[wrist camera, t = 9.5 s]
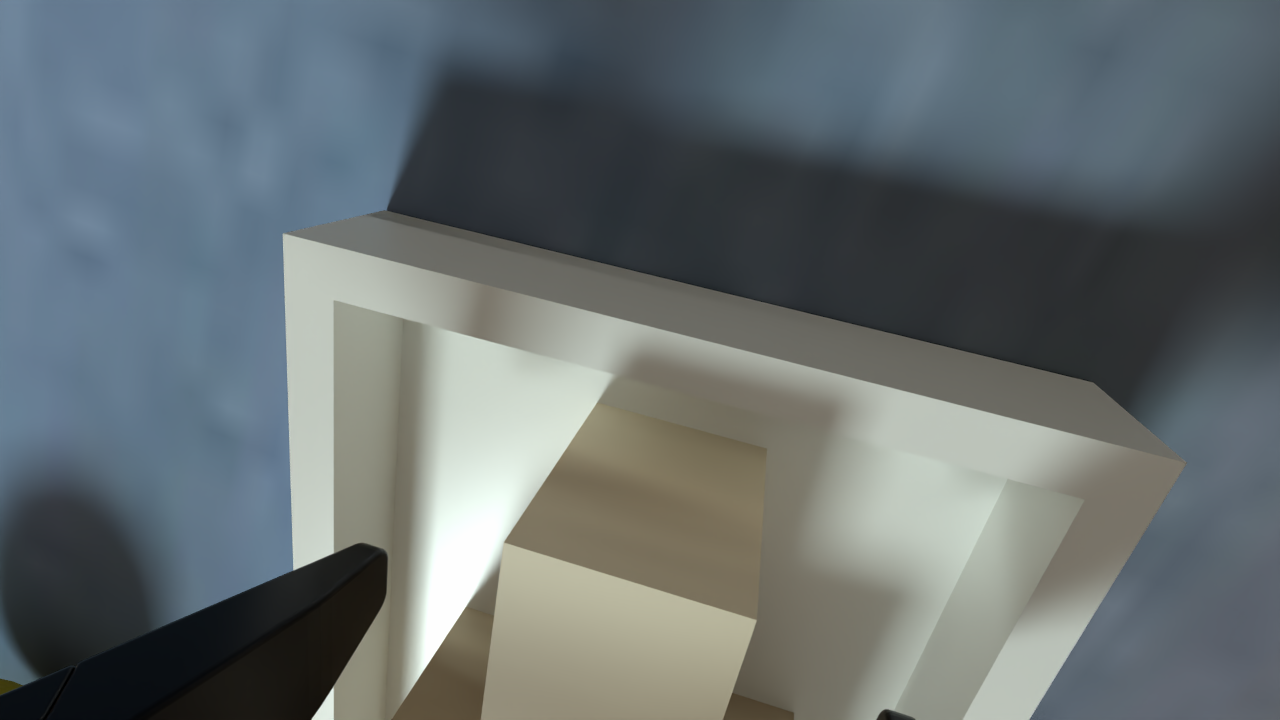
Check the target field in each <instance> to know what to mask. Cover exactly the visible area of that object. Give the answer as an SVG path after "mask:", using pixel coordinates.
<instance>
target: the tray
mask: <svg viewBox="0 0 1280 720" xmlns="http://www.w3.org/2000/svg"><path fill="white" fill-rule="evenodd" d="M283 253H284V285H285V316H286V348H287V379H288V411H289V442H290V473H291V505H292V536H293V568H294V570H296V569H298V568H300V567H303V566H305V565H307V564H310V563H312V562H314V561H317V560H319V559H321V558H324V557H326V556H328V555H331V554H333V553H335V552H338V551H340V550H342V549H345V548H347V547H350V546H352V545H354V544H357V543H367V544H370V545H373V546H376V547H379V548H382V549H384V550H386V552H387V554H388V576H387V593H386V598H385V601H384V603H383V606H382V608H381V609H380V611H379V613H378V614H377V616H376V618H375V619H374V621H373V623H372V624H371V626H370V628H369V629H368V631H367V633H366V634H365V636H364V637H363V639H362V641H361V642H360V644H359V646H358V647H357V649H356V651H355V652H354V654H353V655H352V657H351V659H350V660H349V662H348V664H347V665H346V667H345V669H344V670H343V672H342V674H341V675H340V677H339V678H338V680H337V682H336V683H335V685H334V687H333V688H332V690H331V691H330V693H329V695H328V696H327V698H326V699H325V701H324V702H323V704H322V705H321V707H320V708H319V710H318V711H317V712H316V714H315V715H314V717H313V718H312V719H311V720H391V719H392V718H393V716H394V715H395V713H396V712H397V710H398V709H399V707H400V706H401V704H402V703H403V701H404V700H405V698H406V697H407V695H408V694H409V692H410V691H411V689H412V688H413V686H414V685H415V683H416V681H417V680H418V678H419V677H420V675H421V674H422V672H423V671H424V669H425V668H426V666H427V665H428V663H429V662H430V660H431V659H432V657H433V656H434V654H435V653H436V651H437V650H438V648H439V647H440V645H441V643H442V642H443V640H444V639H445V637H446V636H447V634H448V633H449V631H450V630H451V628H452V627H453V625H454V624H455V622H456V621H457V619H458V618H459V616H460V615H461V613H462V612H463V610H464V609H465V607H469V608H472V609H475V610H478V611H481V612H484V613H487V614H490V615H493V616H494V613H495V605H496V598H497V590H498V582H499V574H500V567H501V559H502V551H503V543H504V541H505V540H506V538H507V537H508V535H509V534H510V532H511V531H512V529H513V528H514V526H515V525H516V523H517V522H518V520H519V519H520V517H521V516H522V514H523V513H524V511H525V510H526V508H527V507H528V505H529V504H530V502H531V501H532V499H533V498H534V496H535V495H536V493H537V492H538V490H539V489H540V487H541V486H542V484H543V483H544V481H545V480H546V478H547V477H548V475H549V474H550V472H551V471H552V469H553V468H554V466H555V465H556V463H557V462H558V460H559V459H560V457H561V456H562V454H563V453H564V451H565V450H566V448H567V447H568V445H569V444H570V442H571V441H572V439H573V438H574V436H575V435H576V433H577V432H578V430H579V429H580V427H581V426H582V424H583V423H584V421H585V420H586V418H587V417H588V415H589V414H590V412H591V411H592V409H593V408H594V406H595V405H596V403H601V404H605V405H608V406H612V407H616V408H619V409H623V410H627V411H630V412H634V413H638V414H641V415H645V416H649V417H652V418H656V419H660V420H663V421H667V422H671V423H675V424H678V425H682V426H686V427H689V428H693V429H697V430H700V431H704V432H708V433H711V434H715V435H719V436H722V437H726V438H730V439H733V440H737V441H741V442H744V443H748V444H752V445H755V446H759V447H763V448H767V457H766V475H765V492H764V509H763V526H762V543H761V560H760V577H759V594H758V611H757V622H756V625H755V628H754V630H753V633H752V636H751V639H750V642H749V645H748V648H747V651H746V654H745V657H744V660H743V663H742V665H741V668H740V671H739V674H738V677H737V680H736V683H735V686H734V689H733V692H732V693H735V694H738V695H741V696H744V697H747V698H750V699H753V700H756V701H759V702H762V703H765V704H769V705H772V706H775V707H778V708H781V709H784V710H787V711H790V712H793V713H794V720H876V719H877V717H878V715H879V714H880V712H881V711H882V710H884V709H889V710H893V711H896V712H899V713H902V714H905V715H908V716H911V717H913V718H915V719H916V720H1029V719H1030V717H1031V716H1032V714H1033V713H1034V711H1035V709H1036V708H1037V706H1038V704H1039V703H1040V701H1041V699H1042V698H1043V696H1044V695H1045V693H1046V691H1047V690H1048V688H1049V686H1050V685H1051V683H1052V682H1053V680H1054V678H1055V677H1056V675H1057V673H1058V672H1059V670H1060V669H1061V667H1062V665H1063V664H1064V662H1065V660H1066V659H1067V657H1068V656H1069V654H1070V652H1071V651H1072V649H1073V647H1074V646H1075V644H1076V643H1077V641H1078V639H1079V638H1080V636H1081V634H1082V633H1083V631H1084V630H1085V628H1086V626H1087V625H1088V623H1089V621H1090V620H1091V618H1092V617H1093V615H1094V613H1095V612H1096V610H1097V608H1098V607H1099V605H1100V604H1101V602H1102V600H1103V599H1104V597H1105V595H1106V594H1107V592H1108V591H1109V589H1110V587H1111V586H1112V584H1113V582H1114V581H1115V579H1116V577H1117V576H1118V574H1119V573H1120V571H1121V569H1122V568H1123V566H1124V564H1125V563H1126V561H1127V560H1128V558H1129V556H1130V555H1131V553H1132V551H1133V550H1134V548H1135V547H1136V545H1137V543H1138V542H1139V540H1140V538H1141V537H1142V535H1143V534H1144V532H1145V530H1146V529H1147V527H1148V525H1149V524H1150V522H1151V521H1152V519H1153V517H1154V516H1155V514H1156V512H1157V511H1158V509H1159V508H1160V506H1161V504H1162V503H1163V501H1164V499H1165V498H1166V496H1167V495H1168V493H1169V491H1170V490H1171V488H1172V486H1173V485H1174V483H1175V482H1176V480H1177V478H1178V477H1179V475H1180V473H1181V472H1182V470H1183V469H1184V467H1185V465H1186V464H1187V462H1185V461H1184V460H1183V459H1182V458H1181V457H1180V456H1178V455H1177V454H1176V453H1175V452H1174V451H1173V450H1171V449H1170V448H1169V447H1168V446H1167V445H1166V444H1164V443H1163V442H1162V441H1161V440H1160V439H1159V438H1157V437H1156V436H1155V435H1154V434H1153V433H1152V432H1150V431H1149V430H1148V429H1147V428H1146V427H1145V426H1143V425H1142V424H1141V423H1140V422H1139V421H1138V420H1136V419H1135V418H1134V417H1133V416H1132V415H1131V414H1129V413H1128V412H1127V411H1126V410H1125V409H1124V408H1122V407H1121V406H1120V405H1119V404H1118V403H1117V402H1115V401H1114V400H1113V399H1112V398H1111V397H1110V396H1108V395H1107V394H1106V393H1105V392H1104V391H1103V390H1101V389H1100V388H1099V387H1098V386H1097V385H1096V384H1094V383H1093V382H1089V381H1085V380H1081V379H1077V378H1072V377H1068V376H1064V375H1060V374H1056V373H1052V372H1048V371H1044V370H1040V369H1035V368H1031V367H1027V366H1023V365H1019V364H1015V363H1011V362H1007V361H1002V360H998V359H994V358H990V357H986V356H982V355H978V354H974V353H970V352H965V351H961V350H957V349H953V348H949V347H945V346H941V345H937V344H933V343H928V342H924V341H920V340H916V339H912V338H908V337H904V336H900V335H896V334H891V333H887V332H883V331H879V330H875V329H871V328H867V327H863V326H858V325H854V324H850V323H846V322H842V321H838V320H834V319H830V318H826V317H821V316H817V315H813V314H809V313H805V312H801V311H797V310H793V309H789V308H784V307H780V306H776V305H772V304H768V303H764V302H760V301H756V300H752V299H747V298H743V297H739V296H735V295H731V294H727V293H723V292H719V291H715V290H710V289H706V288H702V287H698V286H694V285H690V284H686V283H682V282H677V281H673V280H669V279H665V278H661V277H657V276H653V275H649V274H645V273H640V272H636V271H632V270H628V269H624V268H620V267H616V266H612V265H608V264H603V263H599V262H595V261H591V260H587V259H583V258H579V257H575V256H571V255H566V254H562V253H558V252H554V251H550V250H546V249H542V248H538V247H533V246H529V245H525V244H521V243H517V242H513V241H509V240H505V239H501V238H496V237H492V236H488V235H484V234H480V233H476V232H472V231H468V230H464V229H459V228H455V227H451V226H447V225H443V224H439V223H435V222H431V221H427V220H422V219H418V218H414V217H410V216H406V215H402V214H398V213H394V212H390V211H385V210H384V211H380V212H375V213H371V214H366V215H362V216H358V217H353V218H349V219H344V220H340V221H336V222H331V223H327V224H322V225H318V226H313V227H309V228H305V229H300V230H296V231H291V232H287V233H283Z"/></svg>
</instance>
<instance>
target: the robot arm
mask: <svg viewBox="0 0 1280 720" xmlns="http://www.w3.org/2000/svg"><path fill="white" fill-rule="evenodd" d="M387 576H388V554H387V552H386V550H384V549H382V548H379V547H376V546H373V545H370V544H367V543H357V544H354V545H352V546H350V547H347V548H345V549H342V550H340V551H338V552H335V553H333V554H331V555H328V556H326V557H324V558H321V559H319V560H317V561H314V562H312V563H310V564H307V565H305V566H303V567H300V568H298V569H296V570H293V571H291V572H289V573H286V574H284V575H282V576H279V577H277V578H275V579H272V580H270V581H268V582H265V583H263V584H261V585H258V586H256V587H254V588H251V589H249V590H247V591H244V592H242V593H240V594H237V595H235V596H233V597H230V598H228V599H226V600H223V601H221V602H219V603H216V604H214V605H211V606H209V607H207V608H204V609H202V610H200V611H197V612H195V613H193V614H190V615H188V616H186V617H183V618H181V619H179V620H176V621H174V622H172V623H169V624H167V625H165V626H162V627H160V628H158V629H155V630H153V631H151V632H148V633H146V634H144V635H141V636H139V637H137V638H134V639H132V640H130V641H127V642H125V643H123V644H120V645H118V646H116V647H113V648H111V649H109V650H106V651H104V652H102V653H99V654H97V655H95V656H92V657H90V658H88V659H85V660H83V661H81V662H79V663H78V664H77V666H76V667H74V666H68V667H66V668H64V669H61V670H59V671H57V672H54V673H52V674H50V675H47V676H45V677H43V678H40V679H38V680H36V681H33V682H31V683H28V684H26V685H23V686H21V687H19V688H16V689H14V690H11V691H9V692H6V693H4V694H2V695H0V720H311V719H312V718H313V717H314V715H315V714H316V712H317V711H318V710H319V708H320V707H321V705H322V704H323V702H324V701H325V699H326V698H327V696H328V695H329V693H330V691H331V690H332V688H333V687H334V685H335V683H336V682H337V680H338V678H339V677H340V675H341V674H342V672H343V670H344V669H345V667H346V665H347V664H348V662H349V660H350V659H351V657H352V655H353V654H354V652H355V651H356V649H357V647H358V646H359V644H360V642H361V641H362V639H363V637H364V636H365V634H366V633H367V631H368V629H369V628H370V626H371V624H372V623H373V621H374V619H375V618H376V616H377V614H378V613H379V611H380V609H381V608H382V606H383V603H384V601H385V598H386V593H387ZM876 720H916V719H915V718H913V717H911V716H908V715H905V714H902V713H899V712H896V711H893V710H889V709H884V710H882V711H881V712H880V714H879V715H878V717H877V719H876Z"/></svg>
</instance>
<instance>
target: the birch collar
mask: <svg viewBox="0 0 1280 720" xmlns="http://www.w3.org/2000/svg"><path fill="white" fill-rule="evenodd" d="M766 457H767V448H763V447H759V446H755V445H752V444H748V443H744V442H741V441H737V440H733V439H730V438H726V437H722V436H719V435H715V434H711V433H708V432H704V431H700V430H697V429H693V428H689V427H686V426H682V425H678V424H675V423H671V422H667V421H663V420H660V419H656V418H652V417H649V416H645V415H641V414H638V413H634V412H630V411H627V410H623V409H619V408H616V407H612V406H608V405H605V404H601V403H596V405H595V406H594V408H593V409H592V411H591V412H590V414H589V415H588V417H587V418H586V420H585V421H584V423H583V424H582V426H581V427H580V429H579V430H578V432H577V433H576V435H575V436H574V438H573V439H572V441H571V442H570V444H569V445H568V447H567V448H566V450H565V451H564V453H563V454H562V456H561V457H560V459H559V460H558V462H557V463H556V465H555V466H554V468H553V469H552V471H551V472H550V474H549V475H548V477H547V478H546V480H545V481H544V483H543V484H542V486H541V487H540V489H539V490H538V492H537V493H536V495H535V496H534V498H533V499H532V501H531V502H530V504H529V505H528V507H527V508H526V510H525V511H524V513H523V514H522V516H521V517H520V519H519V520H518V522H517V523H516V525H515V526H514V528H513V529H512V531H511V532H510V534H509V535H508V537H507V538H506V540H505V541H504V543H503V551H502V559H501V567H500V574H499V582H498V590H497V598H496V605H495V613H494V616H493V615H490V614H487V613H484V612H481V611H478V610H475V609H472V608H469V607H465V609H464V610H463V612H462V613H461V615H460V616H459V618H458V619H457V621H456V622H455V624H454V625H453V627H452V628H451V630H450V631H449V633H448V634H447V636H446V637H445V639H444V640H443V642H442V643H441V645H440V647H439V648H438V650H437V651H436V653H435V654H434V656H433V657H432V659H431V660H430V662H429V663H428V665H427V666H426V668H425V669H424V671H423V672H422V674H421V675H420V677H419V678H418V680H417V681H416V683H415V685H414V686H413V688H412V689H411V691H410V692H409V694H408V695H407V697H406V698H405V700H404V701H403V703H402V704H401V706H400V707H399V709H398V710H397V712H396V713H395V715H394V716H393V718H392V719H391V720H794V713H793V712H790V711H787V710H784V709H781V708H778V707H775V706H772V705H769V704H765V703H762V702H759V701H756V700H753V699H750V698H747V697H744V696H741V695H738V694H735V693H732V692H733V689H734V686H735V683H736V680H737V677H738V674H739V671H740V668H741V665H742V663H743V660H744V657H745V654H746V651H747V648H748V645H749V642H750V639H751V636H752V633H753V630H754V628H755V625H756V622H757V611H758V594H759V577H760V560H761V543H762V526H763V509H764V492H765V475H766Z"/></svg>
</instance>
